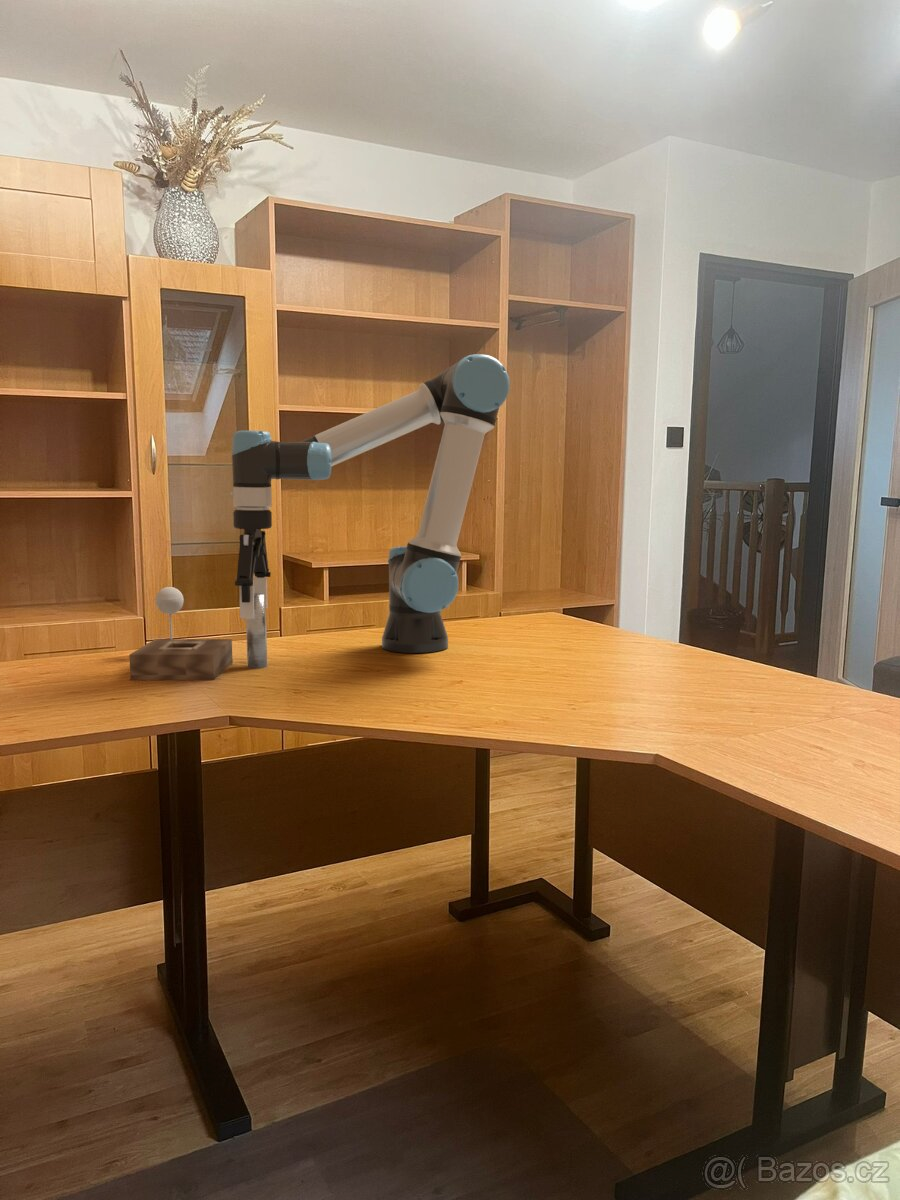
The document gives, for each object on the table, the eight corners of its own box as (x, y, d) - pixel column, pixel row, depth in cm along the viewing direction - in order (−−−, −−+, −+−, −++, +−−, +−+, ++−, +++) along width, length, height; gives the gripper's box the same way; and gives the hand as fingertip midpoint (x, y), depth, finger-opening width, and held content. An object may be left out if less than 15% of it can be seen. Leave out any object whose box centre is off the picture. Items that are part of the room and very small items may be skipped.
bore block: (232, 662, 189) (231, 637, 188) (214, 679, 173) (213, 652, 173) (156, 662, 189) (155, 637, 188) (130, 680, 173) (129, 653, 172)
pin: (269, 664, 187) (266, 593, 185) (265, 668, 183) (263, 595, 181) (249, 664, 187) (247, 593, 185) (245, 668, 183) (243, 595, 181)
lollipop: (180, 657, 194) (177, 588, 192) (153, 657, 194) (150, 588, 192) (189, 652, 200) (186, 585, 198) (163, 652, 200) (160, 585, 198)
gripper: (246, 506, 193) (248, 604, 196) (218, 511, 168) (221, 622, 171) (281, 506, 193) (282, 604, 196) (259, 511, 169) (260, 623, 171)
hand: (254, 613), depth 184 cm, fingers open, 13 cm apart
